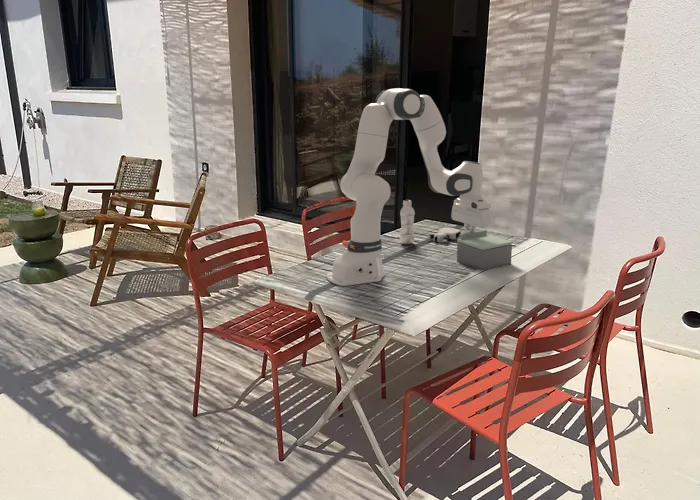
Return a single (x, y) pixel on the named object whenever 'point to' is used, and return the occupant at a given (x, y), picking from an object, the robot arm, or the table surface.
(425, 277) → the table surface
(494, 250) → the housing
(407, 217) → the plastic bottle
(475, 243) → the lid
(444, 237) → the robot toy
